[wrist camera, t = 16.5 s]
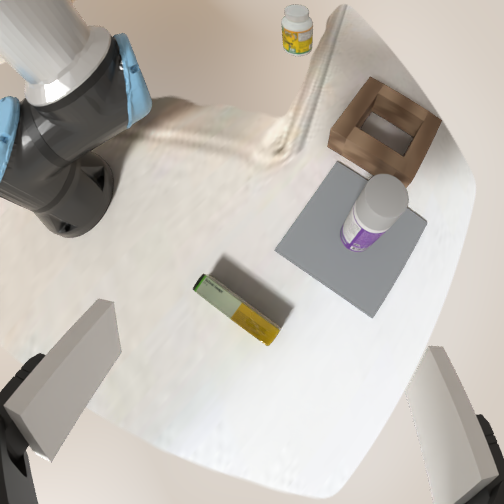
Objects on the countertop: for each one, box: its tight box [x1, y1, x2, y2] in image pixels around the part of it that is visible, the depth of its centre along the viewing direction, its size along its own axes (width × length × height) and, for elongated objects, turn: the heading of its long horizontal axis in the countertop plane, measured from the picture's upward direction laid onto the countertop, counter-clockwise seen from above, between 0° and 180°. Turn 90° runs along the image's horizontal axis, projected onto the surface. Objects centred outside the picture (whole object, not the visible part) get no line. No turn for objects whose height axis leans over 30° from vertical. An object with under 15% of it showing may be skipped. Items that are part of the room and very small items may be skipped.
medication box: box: [193, 274, 281, 346], centre depth 41 cm, size 12×3×4 cm, turn 54°
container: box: [340, 174, 409, 253], centre depth 35 cm, size 5×5×15 cm
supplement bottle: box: [282, 5, 313, 56], centre depth 46 cm, size 5×5×10 cm
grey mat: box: [275, 162, 427, 318], centre depth 42 cm, size 16×16×1 cm
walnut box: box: [327, 77, 442, 188], centre depth 42 cm, size 13×13×5 cm
